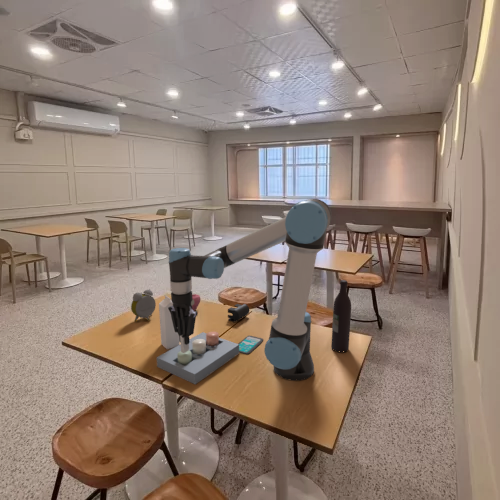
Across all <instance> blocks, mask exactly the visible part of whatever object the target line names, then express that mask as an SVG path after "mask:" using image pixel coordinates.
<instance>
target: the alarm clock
mask: <svg viewBox="0 0 500 500" xmlns="http://www.w3.org/2000/svg"><path fill="white" fill-rule="evenodd" d="M153 295H154V293H153V291H152V290H151V289H150V288H149V289H146V290H143V293H142V292H134V294H133V295H132V301H131V303H130V309H131V310H130V311H131V312H132V313H133V315H135V318H134V322H137V320H138V319H139V318H141V319H142V318H143V319H145V318H146V320H147V321H148V322H149V321H151V320H150V316H151V317H152V316H153V315H152V314H153V313H154V311H155V310H156V304H157V303H156V299H155V298H154V297H153Z"/></svg>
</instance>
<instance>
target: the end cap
mask: <svg viewBox="0 0 500 500" xmlns="http://www.w3.org/2000/svg"><path fill="white" fill-rule="evenodd" d="M227 313H228V315H227V318H228V322H233V323H236V322H238V321H240V320H241V319H243V318H245V317H246V316H248V315H249V314H250V307H249V306H248V305H247V304H246V303H243V304H239V303H237V304H235V305H234V307H230V308H227Z"/></svg>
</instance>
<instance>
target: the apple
mask: <svg viewBox="0 0 500 500" xmlns="http://www.w3.org/2000/svg"><path fill="white" fill-rule="evenodd" d="M192 298H193V300H192V302H191V305H192V309H193V311H194V312H195V311H196V310H197V309H198V307H199V305H200V303H201V296H200V295H199V294H197V293H196V294H195V293H194V294H193V293H192Z"/></svg>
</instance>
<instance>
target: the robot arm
mask: <svg viewBox="0 0 500 500" xmlns="http://www.w3.org/2000/svg"><path fill="white" fill-rule="evenodd" d="M332 219H333V216H332V210H331V208H330V206H329V205H328V204H327V203H326V202H325V201H323V200H321V199H318V198H309V199H308V198H307V199H306V200H301V201H299V202H297V203H295V204H294V205H293V206H292V207H290V209H289V210H288V212H287V213H286V216H285V217H283V218H280V219H279V220H276V221H274V222H272V223H270V224H268V225H266V226H264V227H262V228H260V229H257V230H256V231H253V232H251V233H248V234H247V235H245V236H243V237H241V238H238V239H237V240H235V241H233V242H230V243H228V244H226V245H224V246H221V247H219V248H216V249H215V250H214V251H212V252H209V253H207V254H205V255H193V254H192V253H191V249H189V248H187V247H175V248H172V249H170V250H169V252H168V266H169V279H170V280H169V283H170V291H171V293H170V295H171V296H170V297H171V298H170V299H171V301H172V303H173V306H170V307H168V309H169V311H170V313H171V318H172V322H173V326H174V331H175V332H177V333H178V335H179V341H180V344H181V352H182V353H185V352H187V351H189V342H190V341H189V339H190V336H192V335H194V332H195V326H196V325H195V324H196V320H197V316H198V315H199V313H198V311H196V310H194V311H193V309H192V305H191V302H192V300H193V298H192V295H193V291H192V289H193V285H192V277H193V278H202V279H208V280H213V279H216V280H217V279H220V278H222V276H223V274H224V271H225V269H226V268H228V267H230V266H233V265H235V264H236V263H239V262H241V261H243V260H246V259H247V258H250V257H252V256H255V255H257V254H259V253H261V252H263V251H266V250H269V249H271V248H273V247H276V246H277V245H279V244H280V245H281V244H282V243H284V242H285V244H286V246H287V248H288V252H287V257H286V265H285V271H284V277H283V283H282V288H281V295H280V301H279V305H278V306H279V307H278V311H277V317H276V318H274V319H272V321H271V325H270V331H269V337H268V340H267V341H266V343H265V345H264V350H263V351H264V355H265V358H266V360H268V362H269V363H270V364H271V365H272V366H273V372H274V373H275V374H276V375H277V376H278V377H280V378H282V379H284V380H288V381H293V382H294V381H296V382H297V381H304V380H307V379H309V378H311V376H313V374H314V372H315V363H314V360H313V358H312V355H311V327H312V326H311V325H312V316H311V314H310V313H309V312H308V311H307V307H308V304H309V303H308V301H309V296H310V292H311V291H310V290H311V286H312V281H313V276H314V271H315V265H316V260H317V256H318V253H319V252H320V251H322V250H323V249H324V246H325V242H326V235H327V230H328V228H329V226H330V225H331V222H332Z"/></svg>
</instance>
